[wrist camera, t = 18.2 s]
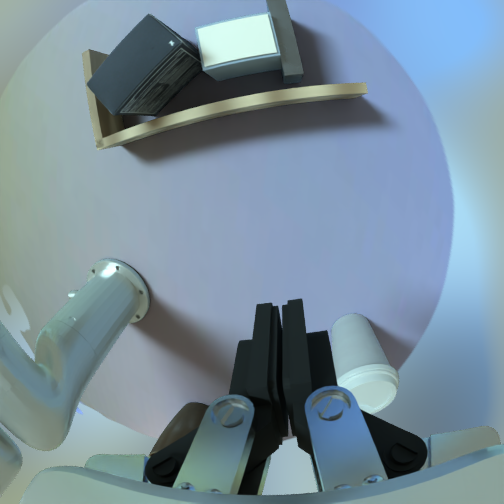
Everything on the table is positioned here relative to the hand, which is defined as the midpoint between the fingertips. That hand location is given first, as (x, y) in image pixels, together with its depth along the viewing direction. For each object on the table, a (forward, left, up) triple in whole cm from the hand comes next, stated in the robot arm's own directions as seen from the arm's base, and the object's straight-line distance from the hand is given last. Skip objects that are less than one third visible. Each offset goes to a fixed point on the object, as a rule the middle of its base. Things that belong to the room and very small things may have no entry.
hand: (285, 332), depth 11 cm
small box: (-12, +18, -29) cm, 36 cm away
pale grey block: (-2, +18, -28) cm, 34 cm away
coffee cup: (+8, -25, -28) cm, 38 cm away
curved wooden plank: (-4, +17, -28) cm, 33 cm away
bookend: (+3, +18, -28) cm, 34 cm away
